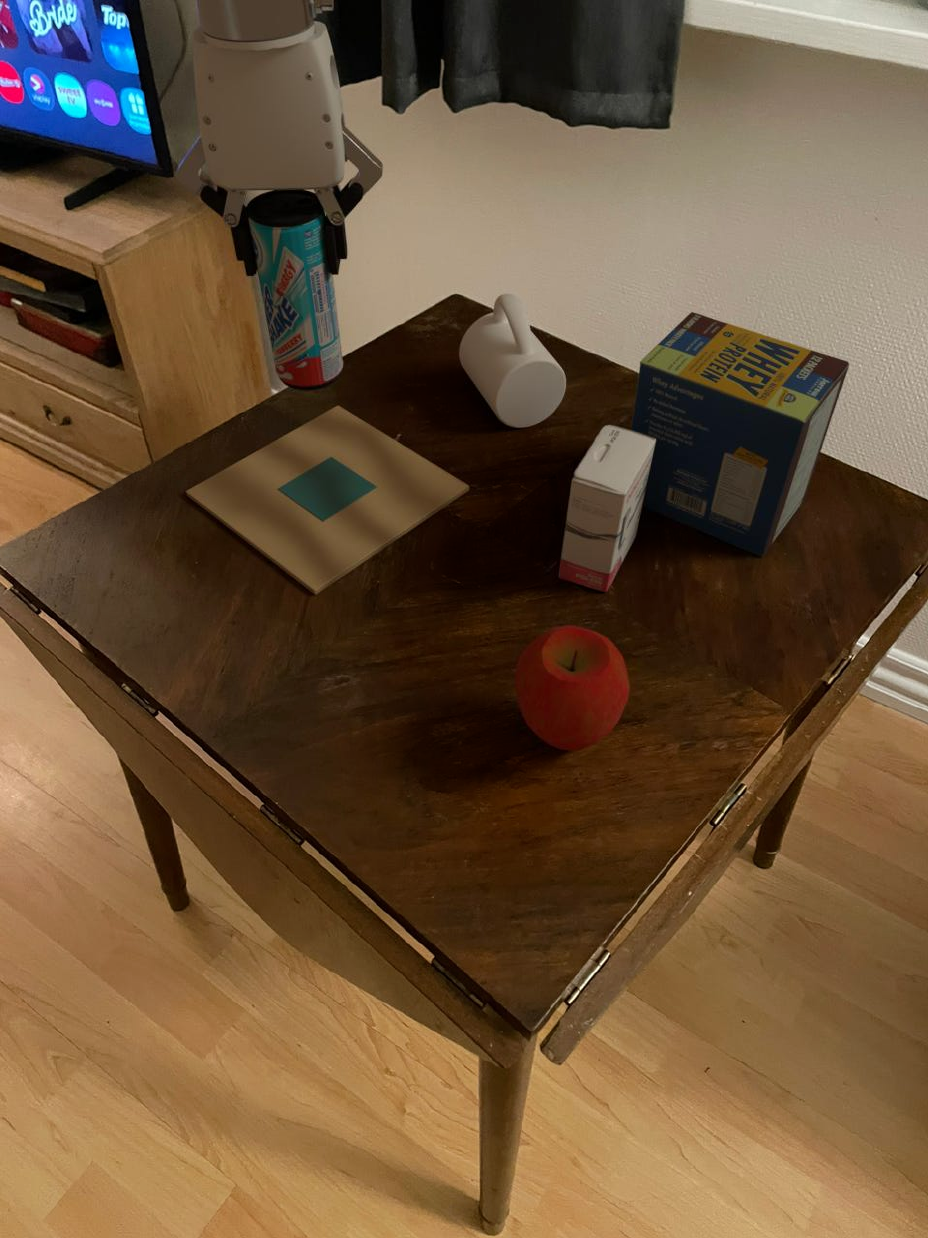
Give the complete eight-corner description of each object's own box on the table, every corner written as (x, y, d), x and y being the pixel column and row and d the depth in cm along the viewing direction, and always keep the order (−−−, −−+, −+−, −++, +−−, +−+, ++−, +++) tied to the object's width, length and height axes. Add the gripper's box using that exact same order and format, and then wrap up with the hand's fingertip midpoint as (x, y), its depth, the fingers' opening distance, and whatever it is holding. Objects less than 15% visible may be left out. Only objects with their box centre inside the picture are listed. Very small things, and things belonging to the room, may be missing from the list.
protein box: (665, 444, 98) (690, 309, 86) (806, 499, 92) (853, 361, 80) (616, 498, 92) (636, 360, 81) (763, 560, 86) (807, 421, 75)
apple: (490, 722, 74) (491, 632, 66) (576, 677, 77) (587, 586, 69) (552, 802, 69) (562, 715, 61) (642, 751, 72) (662, 662, 64)
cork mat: (315, 595, 84) (314, 589, 83) (186, 495, 93) (185, 490, 92) (469, 490, 93) (469, 484, 93) (338, 409, 103) (337, 404, 102)
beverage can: (273, 361, 84) (242, 192, 73) (338, 351, 85) (318, 184, 74) (281, 398, 80) (249, 226, 69) (349, 388, 81) (329, 216, 70)
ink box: (609, 596, 83) (625, 494, 74) (556, 579, 85) (566, 477, 76) (640, 536, 88) (658, 434, 80) (589, 521, 90) (602, 419, 81)
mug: (493, 436, 99) (495, 335, 90) (458, 384, 105) (457, 285, 97) (564, 419, 101) (572, 318, 92) (525, 369, 107) (530, 270, 99)
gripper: (387, -11, 64) (402, 243, 78) (137, -7, 64) (195, 247, 77) (383, 23, 59) (400, 289, 72) (111, 28, 59) (178, 292, 72)
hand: (294, 265), depth 75 cm, fingers closed on beverage can, 5 cm apart
